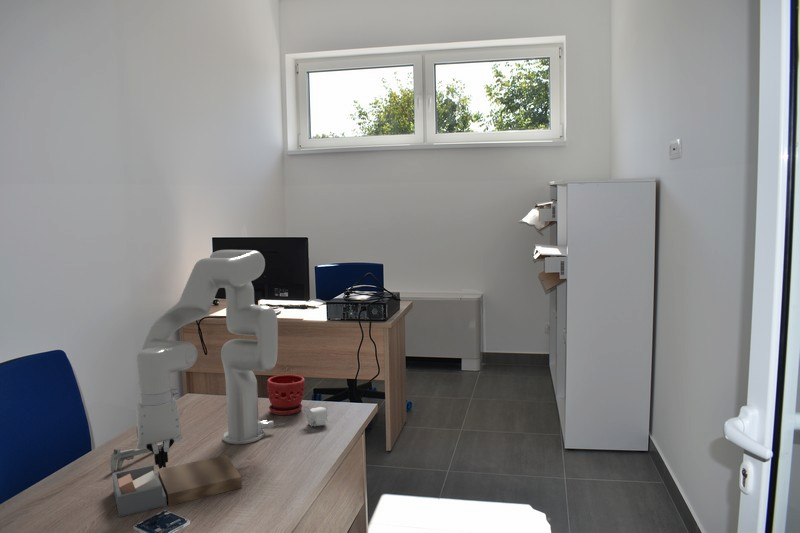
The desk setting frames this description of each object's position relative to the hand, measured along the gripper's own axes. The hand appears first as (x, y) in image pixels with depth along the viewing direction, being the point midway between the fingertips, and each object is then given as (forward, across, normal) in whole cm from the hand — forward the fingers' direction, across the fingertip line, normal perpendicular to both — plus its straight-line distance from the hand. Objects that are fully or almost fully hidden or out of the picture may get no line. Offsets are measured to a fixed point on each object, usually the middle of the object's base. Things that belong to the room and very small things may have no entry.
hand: (161, 465), depth 152 cm
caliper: (+8, +2, -26) cm, 27 cm away
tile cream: (+5, +4, 0) cm, 6 cm away
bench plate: (+7, -9, +1) cm, 11 cm away
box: (+7, +6, +1) cm, 9 cm away
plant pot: (+9, -48, -41) cm, 64 cm away
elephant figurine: (+9, -52, -22) cm, 57 cm away
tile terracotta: (+3, +7, +1) cm, 7 cm away
